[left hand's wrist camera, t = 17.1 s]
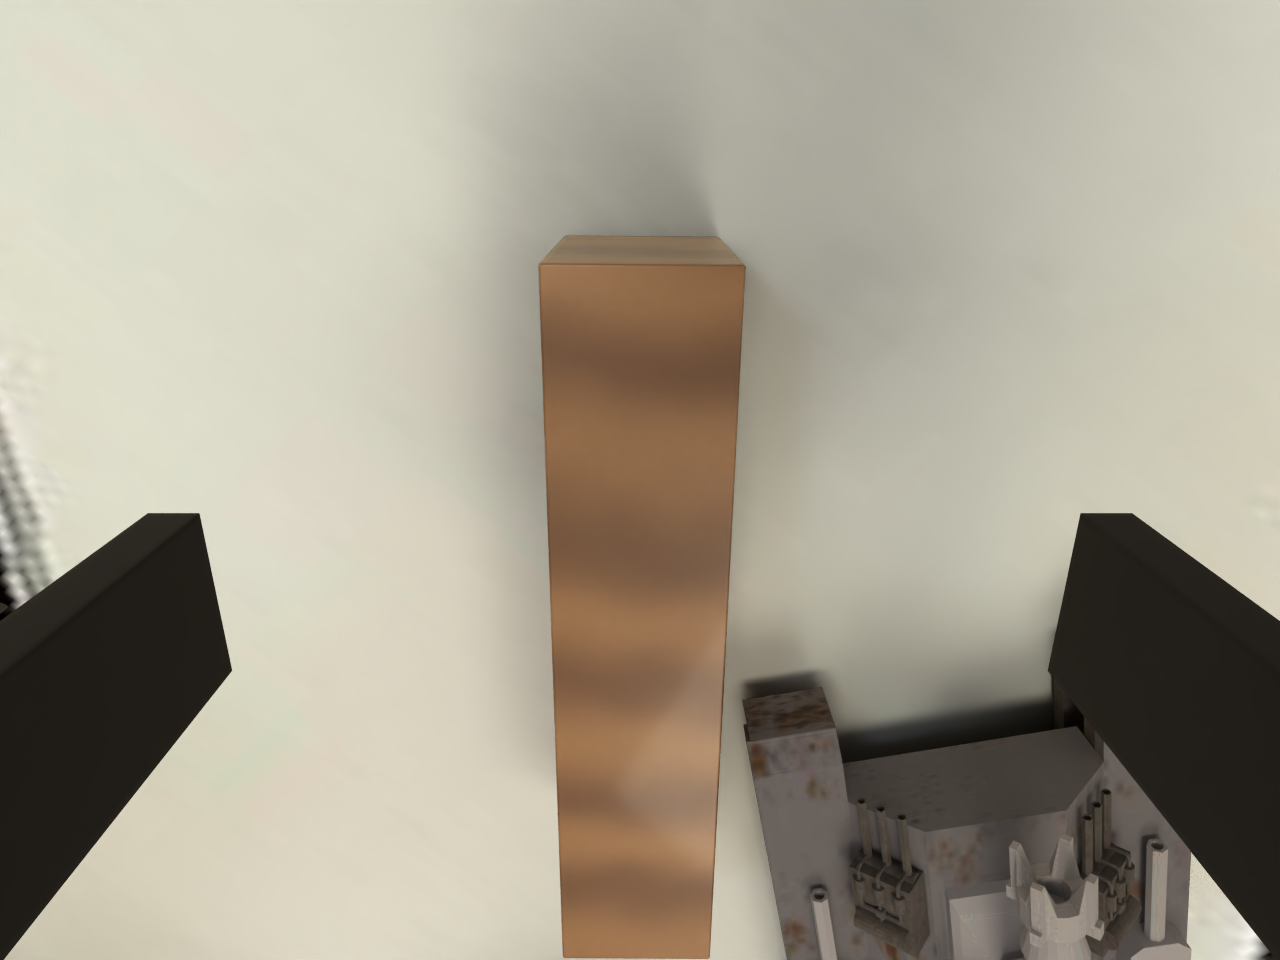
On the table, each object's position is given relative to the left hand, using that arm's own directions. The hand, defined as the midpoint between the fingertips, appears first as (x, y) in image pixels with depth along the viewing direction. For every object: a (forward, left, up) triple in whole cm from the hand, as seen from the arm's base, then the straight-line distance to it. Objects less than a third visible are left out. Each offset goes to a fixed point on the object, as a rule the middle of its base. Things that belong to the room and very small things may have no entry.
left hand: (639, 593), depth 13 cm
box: (+1, +12, -25) cm, 28 cm away
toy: (-15, +30, -25) cm, 42 cm away
